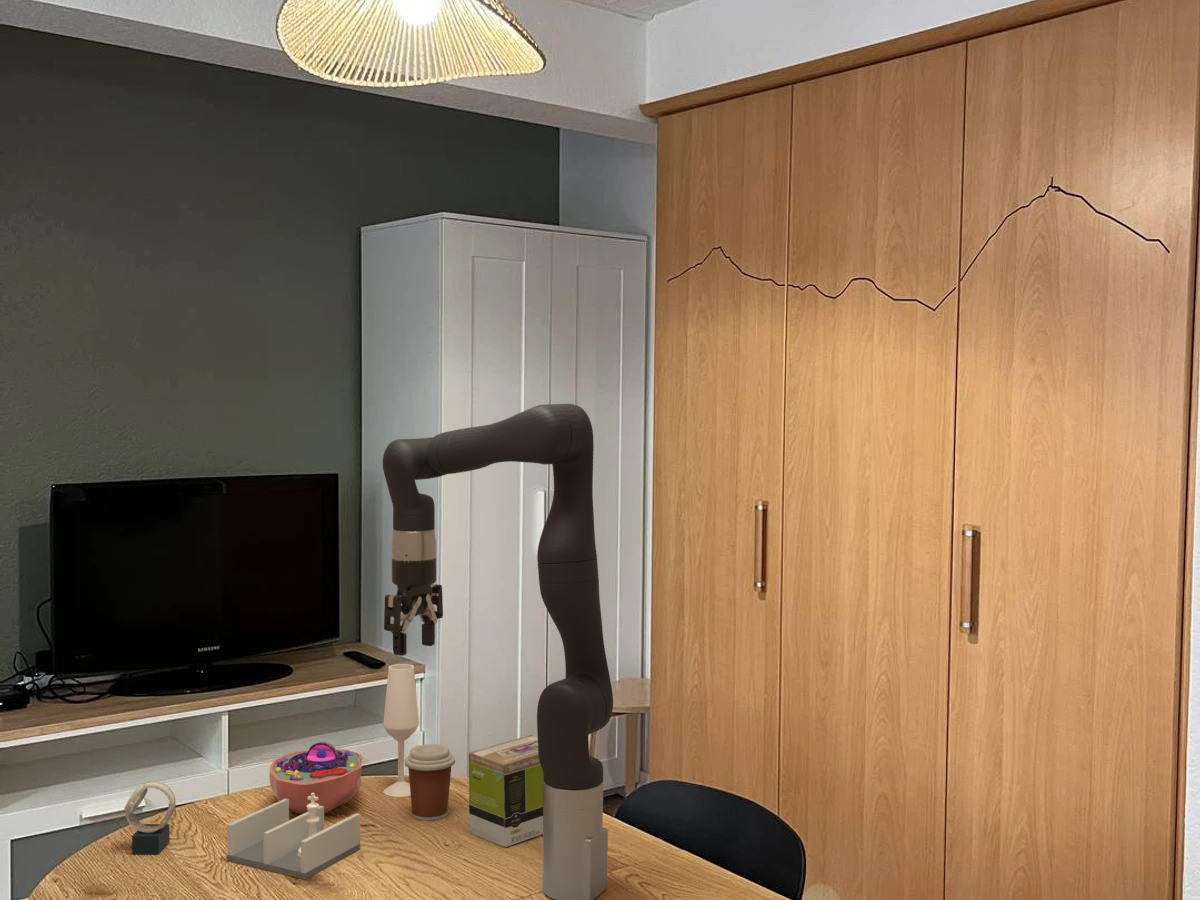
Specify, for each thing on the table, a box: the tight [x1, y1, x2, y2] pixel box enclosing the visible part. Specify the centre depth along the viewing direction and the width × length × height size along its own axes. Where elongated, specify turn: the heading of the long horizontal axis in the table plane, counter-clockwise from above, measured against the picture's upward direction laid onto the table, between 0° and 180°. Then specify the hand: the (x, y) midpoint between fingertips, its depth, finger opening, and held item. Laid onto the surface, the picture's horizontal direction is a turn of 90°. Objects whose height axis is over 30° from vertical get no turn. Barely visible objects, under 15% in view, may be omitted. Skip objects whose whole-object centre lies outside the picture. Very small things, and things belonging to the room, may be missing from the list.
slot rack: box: [226, 799, 361, 880], centre depth 201 cm, size 16×14×6 cm
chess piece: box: [298, 793, 320, 857], centre depth 199 cm, size 5×5×10 cm
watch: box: [123, 781, 177, 856], centre depth 203 cm, size 6×8×11 cm
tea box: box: [468, 734, 544, 848], centre depth 213 cm, size 15×10×15 cm, turn 135°
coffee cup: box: [404, 743, 456, 822], centre depth 220 cm, size 9×9×12 cm
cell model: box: [269, 741, 363, 815], centre depth 223 cm, size 17×20×11 cm
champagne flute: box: [382, 663, 420, 798], centre depth 232 cm, size 7×7×24 cm
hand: (414, 650), depth 208 cm, fingers open, 8 cm apart
